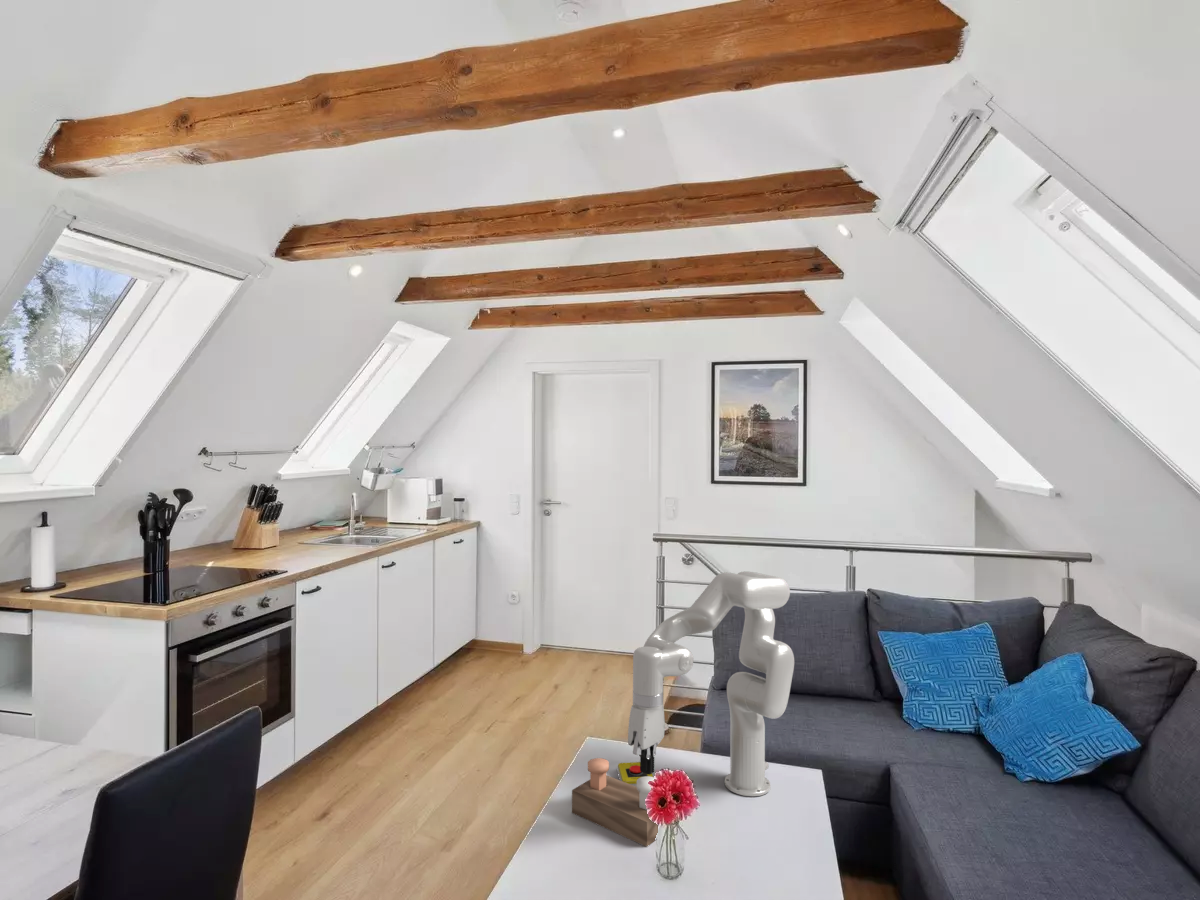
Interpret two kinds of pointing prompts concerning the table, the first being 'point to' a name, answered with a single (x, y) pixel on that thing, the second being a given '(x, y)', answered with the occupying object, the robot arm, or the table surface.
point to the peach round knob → (598, 772)
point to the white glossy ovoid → (644, 789)
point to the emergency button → (630, 772)
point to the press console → (615, 810)
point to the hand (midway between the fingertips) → (647, 771)
